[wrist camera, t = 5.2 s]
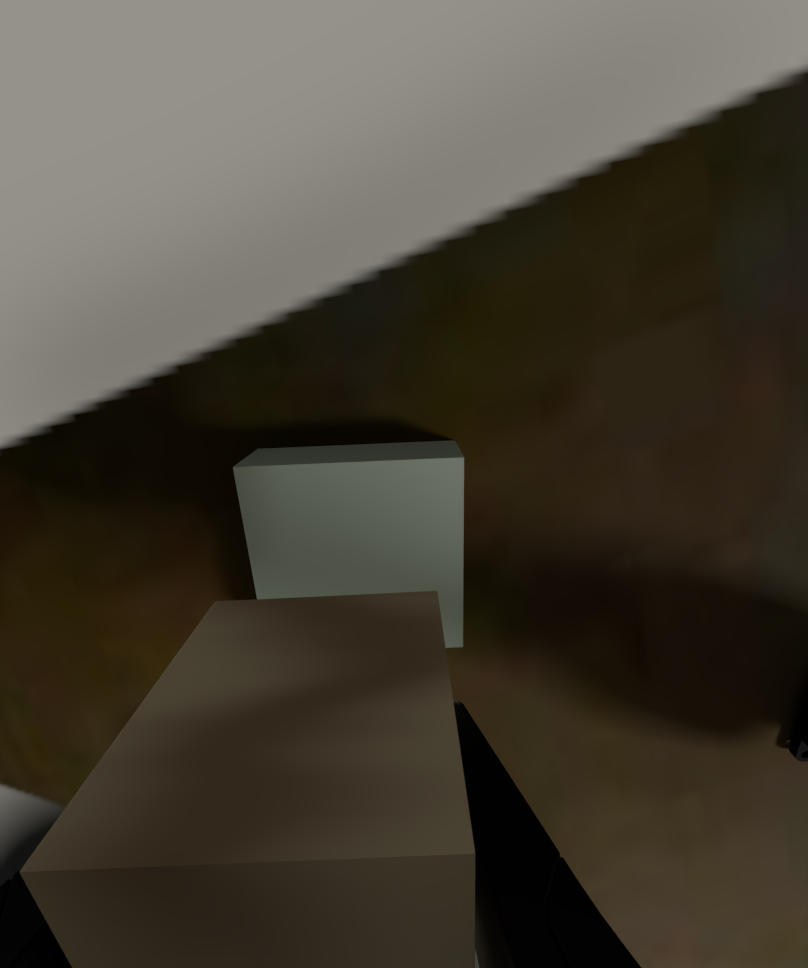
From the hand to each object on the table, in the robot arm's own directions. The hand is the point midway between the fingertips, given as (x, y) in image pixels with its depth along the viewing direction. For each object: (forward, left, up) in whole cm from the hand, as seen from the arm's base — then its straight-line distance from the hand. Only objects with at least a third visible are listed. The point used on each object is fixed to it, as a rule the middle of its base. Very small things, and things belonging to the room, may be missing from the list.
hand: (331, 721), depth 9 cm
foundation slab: (0, 0, -10) cm, 10 cm away
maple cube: (0, 0, -1) cm, 1 cm away
